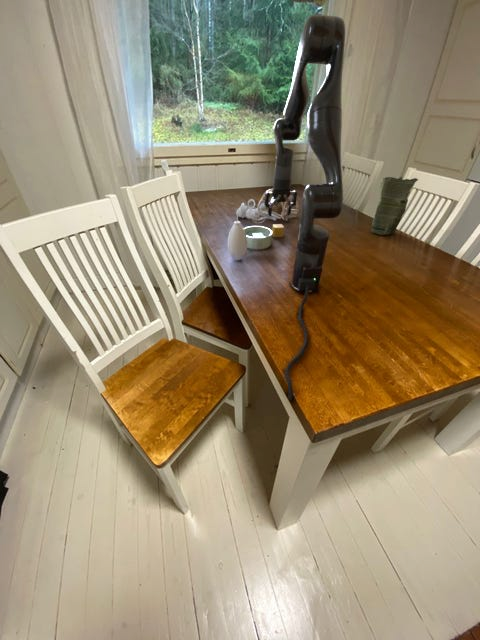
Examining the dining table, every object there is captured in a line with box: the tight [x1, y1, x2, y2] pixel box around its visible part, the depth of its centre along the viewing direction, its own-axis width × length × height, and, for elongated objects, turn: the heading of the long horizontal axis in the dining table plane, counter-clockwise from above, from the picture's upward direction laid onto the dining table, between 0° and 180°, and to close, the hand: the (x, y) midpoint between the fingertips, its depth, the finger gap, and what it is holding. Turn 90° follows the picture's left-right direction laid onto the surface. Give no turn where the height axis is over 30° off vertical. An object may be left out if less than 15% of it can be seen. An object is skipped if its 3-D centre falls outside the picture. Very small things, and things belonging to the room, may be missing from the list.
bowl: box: [243, 225, 273, 251], centre depth 123 cm, size 14×14×6 cm
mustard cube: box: [271, 223, 285, 238], centre depth 130 cm, size 5×5×5 cm
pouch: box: [370, 176, 419, 236], centre depth 128 cm, size 11×12×25 cm
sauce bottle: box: [227, 215, 248, 261], centre depth 106 cm, size 8×8×18 cm
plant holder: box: [235, 188, 301, 224], centre depth 147 cm, size 28×35×16 cm
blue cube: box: [252, 233, 264, 238], centre depth 121 cm, size 5×5×5 cm
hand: (279, 215), depth 126 cm, fingers open, 8 cm apart
